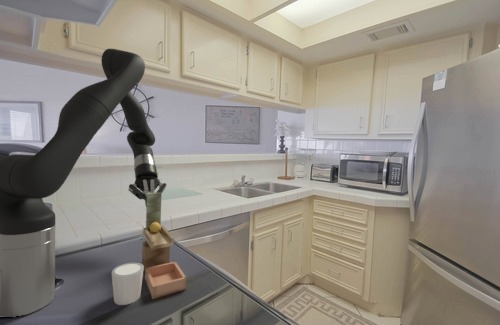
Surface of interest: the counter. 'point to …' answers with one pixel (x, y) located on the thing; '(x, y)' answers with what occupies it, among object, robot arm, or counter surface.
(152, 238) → the ramp
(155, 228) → the ball
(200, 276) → the counter surface
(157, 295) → the dish
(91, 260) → the counter surface
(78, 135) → the robot arm
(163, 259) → the fulcrum
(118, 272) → the white cylinder
